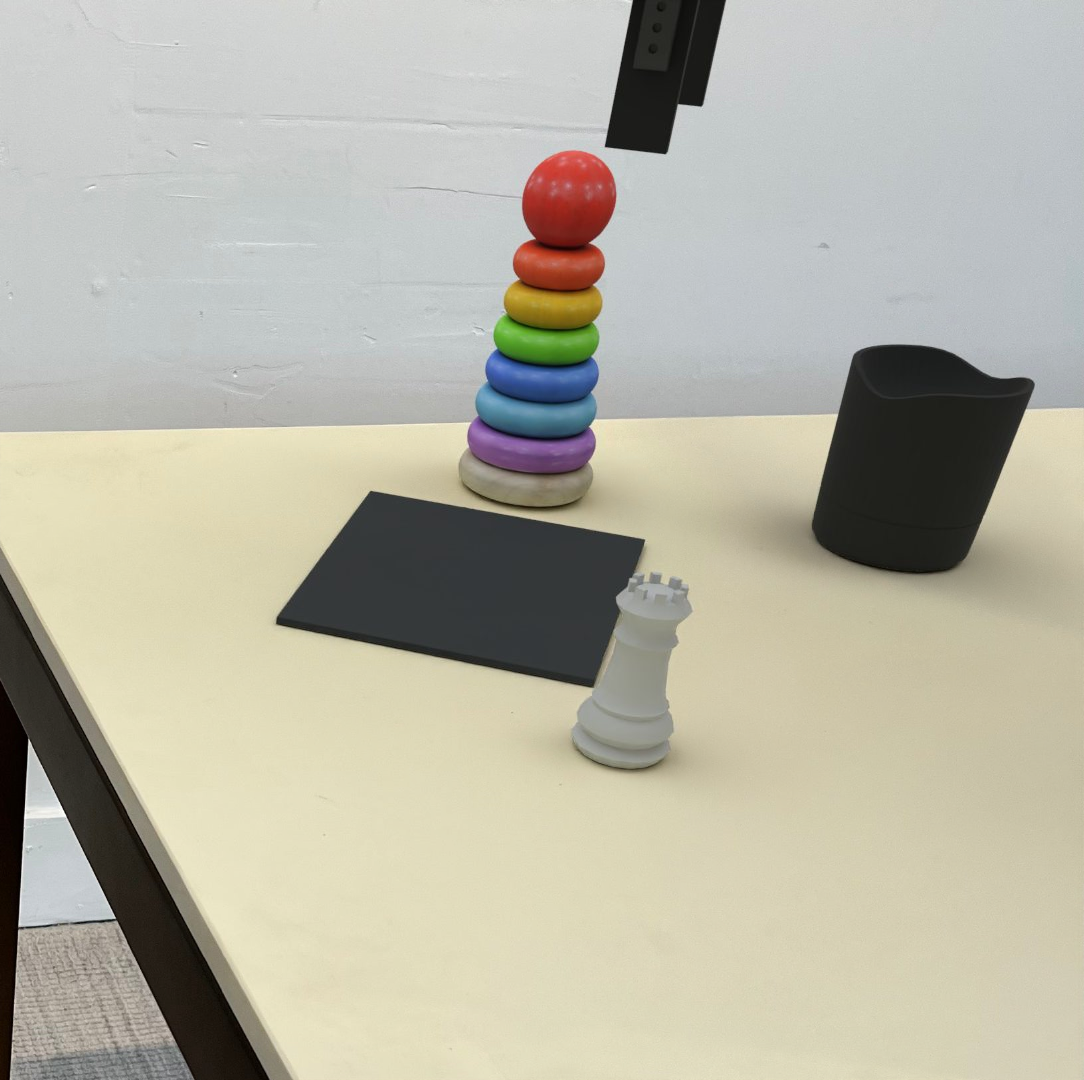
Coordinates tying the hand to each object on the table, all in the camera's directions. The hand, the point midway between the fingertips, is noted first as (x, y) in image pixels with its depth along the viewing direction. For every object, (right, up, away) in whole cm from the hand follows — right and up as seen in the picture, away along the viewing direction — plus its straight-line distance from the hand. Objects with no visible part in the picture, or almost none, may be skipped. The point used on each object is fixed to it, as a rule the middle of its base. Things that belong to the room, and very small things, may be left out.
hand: (656, 125), depth 87 cm
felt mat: (-6, -19, +11) cm, 23 cm away
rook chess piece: (-3, -30, -3) cm, 31 cm away
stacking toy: (-1, -11, +24) cm, 26 cm away
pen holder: (+19, -15, +19) cm, 31 cm away
